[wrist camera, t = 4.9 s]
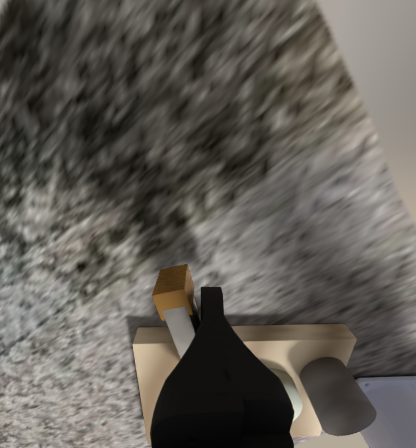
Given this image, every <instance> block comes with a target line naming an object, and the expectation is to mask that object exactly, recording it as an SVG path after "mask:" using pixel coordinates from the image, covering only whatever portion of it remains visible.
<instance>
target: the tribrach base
mask: <svg viewBox="0 0 416 448" xmlns="http://www.w3.org/2000/svg"><path fill="white" fill-rule="evenodd" d="M231 327H232V328H233V330H234V331H235V332H236V334H237V335H238V336H239V338H240V339H241V340H242V341H243V343H244V344H245V345H246V346H247V347H248V348H249V349H250V350H251V351H252V353H253V354H254V355H255V356H256V357H257V358H258V359H259V360H260V361H261V362H262V363H263V364H264V365H265V366H266V367H267V368H269V369H270V370H271V371H272V372H273V373H274V374H275V375H277V376H278V377H279V378H280V380H281V382H282V383H283V385H284V387H285V389H286V391H287V393H288V395H289V398H290V400H291V403H292V405H293V409H294V419H293V422H292V425H291V429H290V434H291V437H306V436H319V435H320V433H321V430H322V429H323V430H324V431H325V432H326V433H328V434H330V435H335V436H344V435H350V434H354V433H357V432H360V431H362V430H364V429H365V428H367V427H368V426H370V425H371V424H372V423H373V422H374V420H375V418H376V415H377V412H376V410H375V408H374V407H373V405H372V404H371V402H370V401H369V399H368V398H367V397H366V395H365V394H364V392H363V391H362V389H361V388H360V386H359V385H358V383H357V382H356V381H355V379H354V378H353V376H352V375H351V373H350V372H349V370H348V369H347V368H346V366H347V364H348V361H349V358H350V356H351V353H352V351H353V348H354V346H355V343H356V341H357V338H356V337H355V336H354V335H353V334H352V332H351V331H350V330H349V329H348V328H347V327H346V325H345V324H305V325H251V326H231ZM133 351H134V357H135V364H136V370H137V377H138V383H139V390H140V397H141V403H142V410H143V416H144V423H145V429H146V436H147V442H148V444H151V438H150V428H151V422H152V416H153V412H154V408H155V405H156V402H157V399H158V396H159V394H160V391H161V389H162V387H163V384H164V382H165V380H166V378H167V377H168V376H169V375H170V373H171V372H172V371H173V369H174V368H175V367H176V365H177V364H178V363H179V361H180V359H181V358H180V355H179V353H178V350H177V348H176V345H175V343H174V340H173V338H172V335H171V333H170V330H169V327H143V328H138V330H137V333H136V336H135V338H134V341H133Z"/></svg>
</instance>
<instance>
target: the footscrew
mask: <svg viewBox="0 0 416 448" xmlns="http://www.w3.org/2000/svg"><path fill="white" fill-rule="evenodd" d="M152 298H153V300H154V303H155V305H156V308H157V310H158V313H159V315H160V318H161V320H162V321H164V320H166V322H167V325H168V327H169V330H170V333H171V335H172V338H173V340H174V343H175V345H176V348H177V350H178V353H179V355H180V358H182V356H183V355H184V353H185V352H186V350H187V349H188V347H189V345H190V344H191V342H192V340H193V338H194V336H195V334H196V332H197V330H198V328H199V326H200V324H201V318H200V315H199V312H198V309H197V305H196V302H195V299H194V284H193V281H192V278H191V274H190V271H189V268H188V264H184V265H180V266H175V267H170V268H166V269H161V270H160V273H159V276H158V279H157V282H156V285H155V288H154V291H153V294H152Z"/></svg>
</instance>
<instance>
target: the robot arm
mask: <svg viewBox="0 0 416 448" xmlns="http://www.w3.org/2000/svg"><path fill="white" fill-rule="evenodd" d="M355 381H356V382H357V383H358V385H359V386H360V388H361V389H362V391H363V392H364V394H365V395H366V397H367V398H368V399H369V401H370V402H371V404H372V405H373V407H374V408H375V410H376V412H377V415H376V418H375V420H374V422H373V423H372V424H371V425H370V426H368V427H367V428H365V429H364V430H362V431H360V433H361V435H362V436H363V438H364V440H365V441H366V443H367V445H368V446H369V448H416V376H403V377H372V378H358V379H356V380H355ZM293 419H294V409H293V405H292V403H291V400H290V398H289V395H288V393H287V391H286V389H285V387H284V385H283V383H282V382H281V380H280V378H279V377H278V376H277V375H275V374H274V373H273V372H272V371H271V370H270V369H269V368H267V367H266V366H265V365H264V364H263V363H262V362H261V361H260V360H259V359H258V358H257V357H256V356H255V355H254V354H253V353H252V351H251V350H250V349H249V348H248V347H247V346H246V345H245V344H244V343H243V341H242V340H241V339H240V338H239V336H238V335H237V334H236V332H235V331H234V330H233V328H232V327H231V325H230V324H229V322H228V321H227V319H226V317H225V316H224V308H223V293H222V289H221V287H201V324H200V326H199V328H198V330H197V332H196V334H195V336H194V338H193V340H192V342H191V344H190V345H189V347H188V349H187V350H186V352H185V353H184V355H183V356H182V358H181V359H180V361H179V363H178V364H177V365H176V367H175V368H174V369H173V371H172V372H171V373H170V375H169V376H168V377H167V378H166V380H165V382H164V384H163V387H162V389H161V391H160V394H159V396H158V399H157V402H156V405H155V408H154V412H153V416H152V422H151V428H150V438H151V446H152V448H294V443H293V440H292V437H291V434H290V429H291V425H292V422H293Z"/></svg>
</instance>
